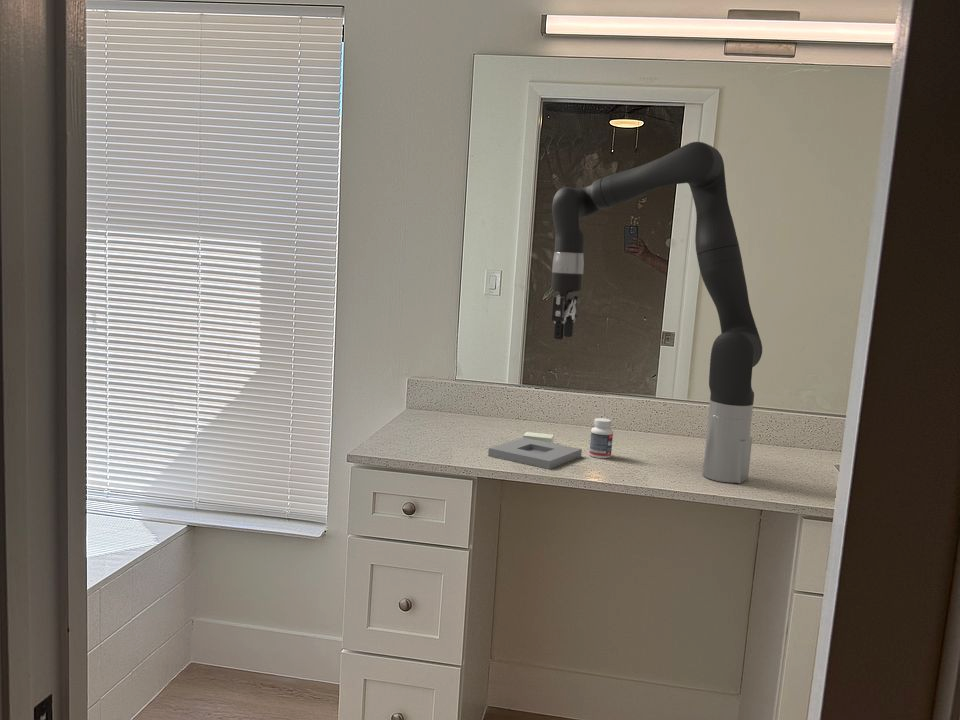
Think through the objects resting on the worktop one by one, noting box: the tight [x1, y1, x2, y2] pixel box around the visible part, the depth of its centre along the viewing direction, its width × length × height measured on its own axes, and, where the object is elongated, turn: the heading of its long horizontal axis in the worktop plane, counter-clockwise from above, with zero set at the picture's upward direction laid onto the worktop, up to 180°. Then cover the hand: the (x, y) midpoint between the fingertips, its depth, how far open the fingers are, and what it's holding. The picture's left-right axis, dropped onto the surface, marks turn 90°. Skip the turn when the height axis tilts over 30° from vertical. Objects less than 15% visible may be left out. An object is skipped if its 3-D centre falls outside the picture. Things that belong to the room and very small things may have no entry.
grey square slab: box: [487, 436, 583, 470], centre depth 201 cm, size 16×16×2 cm
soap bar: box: [522, 431, 555, 443], centre depth 214 cm, size 7×4×2 cm, turn 78°
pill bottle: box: [588, 417, 614, 459], centre depth 204 cm, size 5×5×9 cm
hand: (563, 337), depth 210 cm, fingers open, 8 cm apart
